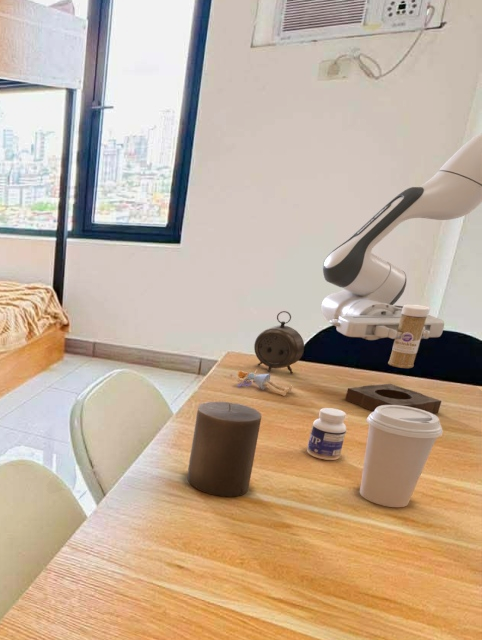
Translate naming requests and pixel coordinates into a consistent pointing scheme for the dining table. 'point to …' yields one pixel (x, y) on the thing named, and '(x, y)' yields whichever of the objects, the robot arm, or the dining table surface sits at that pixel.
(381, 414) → the coffee cup
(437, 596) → the dining table surface
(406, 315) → the sprinkles bottle
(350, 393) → the holder base
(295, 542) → the dining table surface
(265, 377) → the fairy figurine
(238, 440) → the pillar candle
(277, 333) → the alarm clock
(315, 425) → the pill bottle
